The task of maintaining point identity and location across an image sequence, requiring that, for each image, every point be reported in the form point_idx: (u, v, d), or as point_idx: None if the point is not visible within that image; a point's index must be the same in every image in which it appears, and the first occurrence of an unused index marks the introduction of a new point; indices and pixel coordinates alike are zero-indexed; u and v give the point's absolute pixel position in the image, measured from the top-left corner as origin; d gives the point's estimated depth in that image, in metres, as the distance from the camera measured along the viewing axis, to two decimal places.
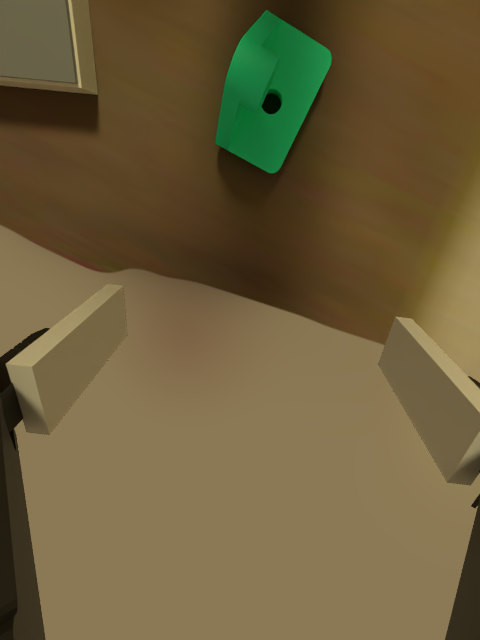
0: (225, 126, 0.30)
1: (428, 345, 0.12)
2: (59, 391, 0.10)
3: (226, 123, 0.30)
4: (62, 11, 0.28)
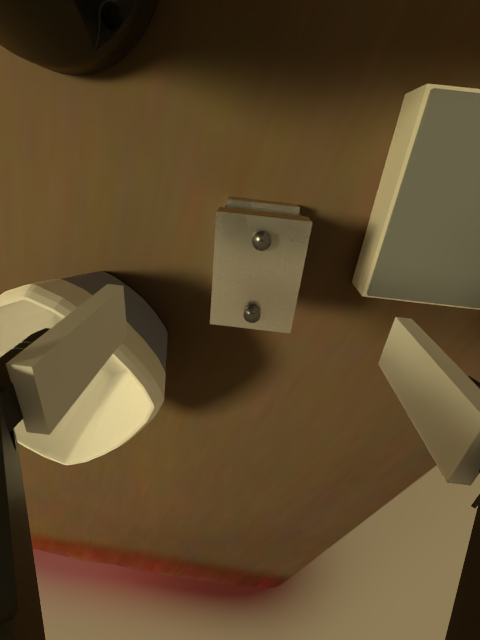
0: None
1: (428, 345, 0.12)
2: (59, 391, 0.10)
3: None
4: None
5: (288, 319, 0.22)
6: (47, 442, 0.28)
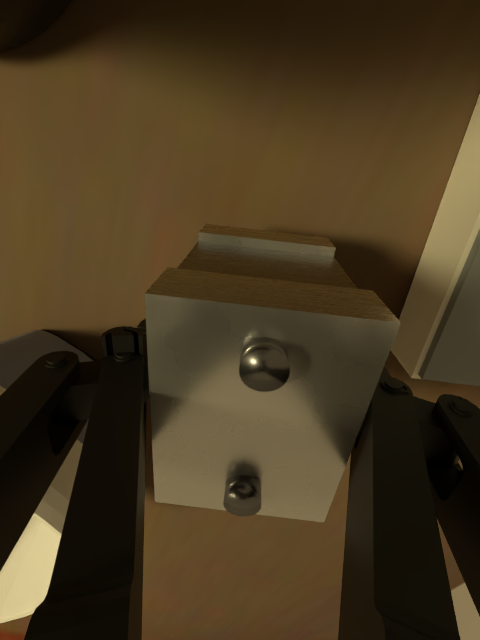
0: None
1: None
2: None
3: None
4: None
5: (320, 501, 0.10)
6: None
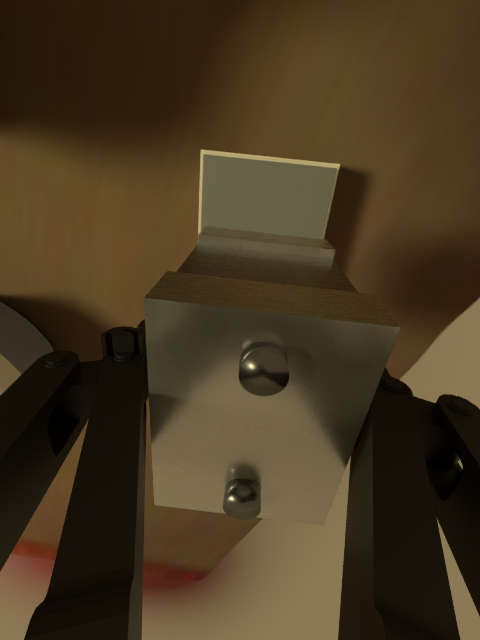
0: None
1: None
2: None
3: None
4: (268, 166, 0.24)
5: (320, 504, 0.10)
6: None
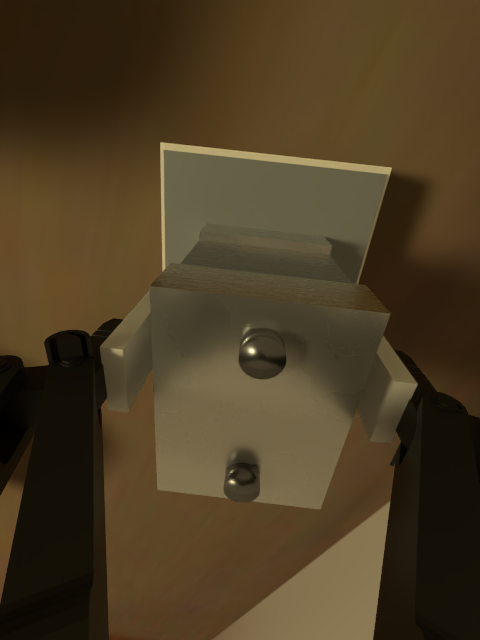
0: None
1: None
2: (135, 374, 0.11)
3: None
4: (272, 171, 0.14)
5: (316, 488, 0.11)
6: None
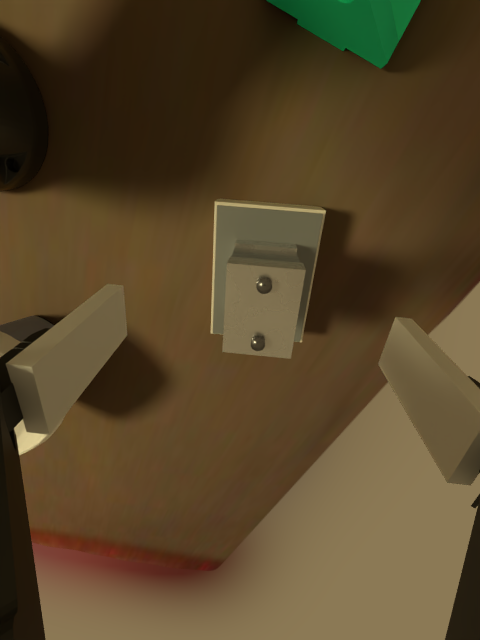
0: (386, 26, 0.23)
1: (428, 345, 0.12)
2: (59, 391, 0.10)
3: (386, 22, 0.22)
4: (268, 214, 0.30)
5: (288, 346, 0.26)
6: None
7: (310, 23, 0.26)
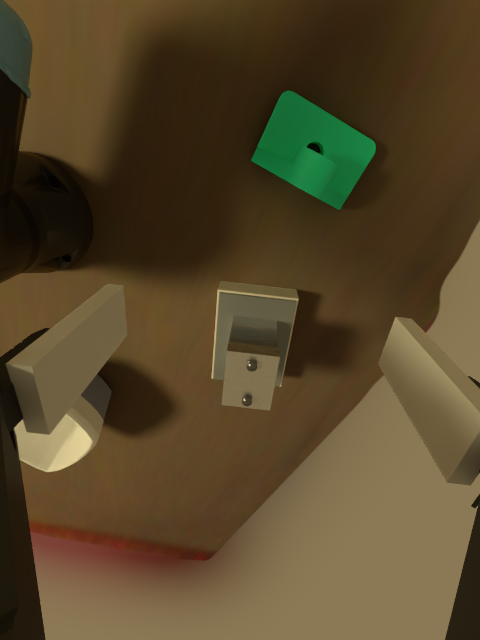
0: (335, 199, 0.34)
1: (428, 345, 0.12)
2: (59, 391, 0.10)
3: (334, 198, 0.33)
4: (256, 300, 0.41)
5: (268, 403, 0.38)
6: (37, 459, 0.50)
7: None
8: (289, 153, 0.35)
